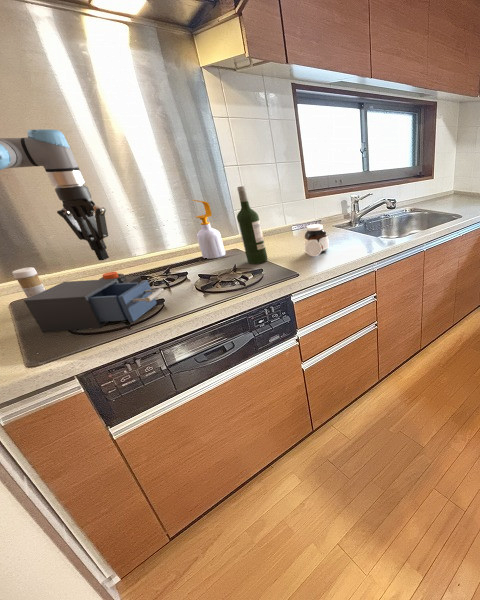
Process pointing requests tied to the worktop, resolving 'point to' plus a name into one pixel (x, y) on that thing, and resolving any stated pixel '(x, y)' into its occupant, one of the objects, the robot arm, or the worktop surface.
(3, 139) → the robot arm
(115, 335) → the worktop surface
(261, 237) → the wine bottle
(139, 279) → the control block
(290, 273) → the worktop surface
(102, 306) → the blue drawer
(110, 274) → the button
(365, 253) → the worktop surface
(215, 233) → the soap bottle
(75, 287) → the grey drawer cabinet
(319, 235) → the spread jar
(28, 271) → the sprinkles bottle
